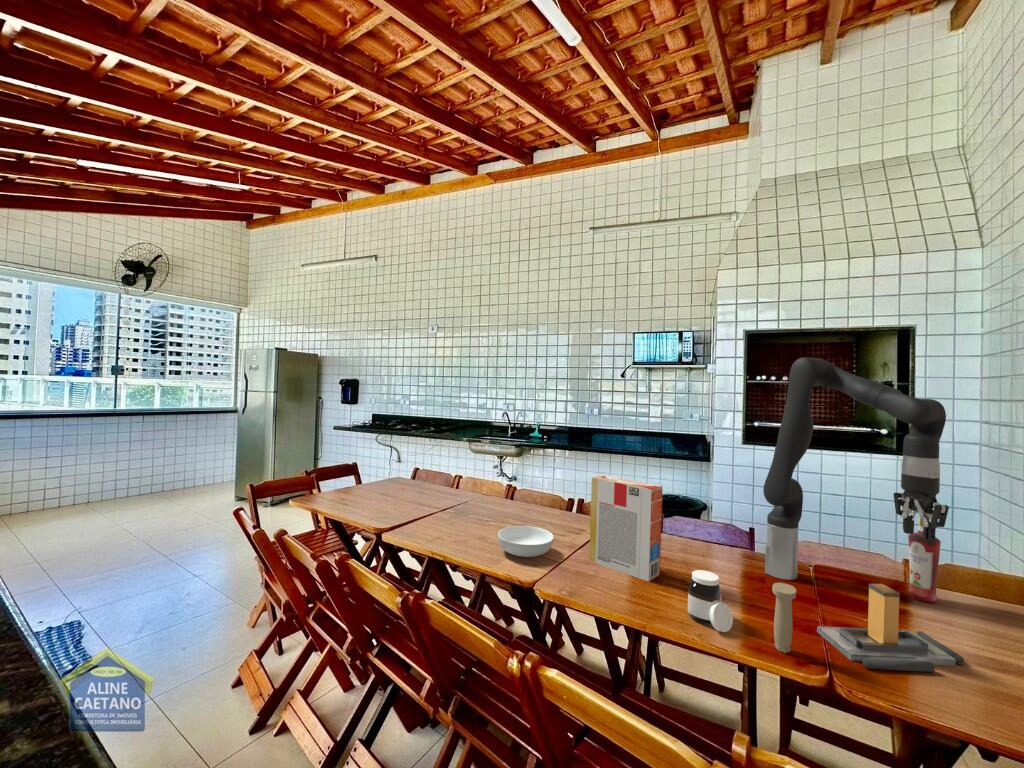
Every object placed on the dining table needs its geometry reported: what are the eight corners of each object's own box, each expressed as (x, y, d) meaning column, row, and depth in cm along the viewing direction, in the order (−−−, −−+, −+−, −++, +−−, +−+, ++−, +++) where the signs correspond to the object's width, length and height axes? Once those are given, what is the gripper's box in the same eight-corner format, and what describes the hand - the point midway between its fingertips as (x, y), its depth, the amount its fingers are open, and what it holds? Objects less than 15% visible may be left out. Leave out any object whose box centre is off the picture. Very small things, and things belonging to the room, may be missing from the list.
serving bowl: (532, 569, 149) (533, 549, 149) (485, 553, 162) (486, 534, 162) (563, 551, 166) (564, 533, 166) (519, 538, 179) (519, 521, 179)
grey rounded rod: (926, 668, 101) (926, 659, 101) (934, 674, 99) (935, 665, 99) (860, 665, 102) (860, 656, 102) (867, 670, 100) (867, 661, 100)
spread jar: (695, 605, 127) (696, 565, 127) (738, 620, 120) (739, 577, 120) (681, 622, 118) (682, 579, 118) (727, 638, 111) (728, 592, 111)
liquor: (901, 595, 138) (903, 506, 138) (915, 592, 141) (917, 504, 141) (930, 606, 131) (932, 513, 132) (944, 602, 134) (946, 511, 134)
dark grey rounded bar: (915, 638, 113) (916, 631, 113) (923, 639, 113) (924, 631, 113) (957, 666, 102) (958, 657, 102) (966, 666, 102) (967, 657, 102)
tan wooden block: (882, 635, 111) (883, 584, 111) (898, 646, 106) (899, 593, 106) (867, 634, 111) (868, 583, 111) (882, 646, 107) (884, 592, 107)
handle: (795, 647, 108) (797, 586, 108) (792, 660, 103) (794, 596, 103) (772, 640, 111) (774, 580, 111) (769, 651, 106) (770, 589, 106)
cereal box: (659, 574, 148) (662, 485, 148) (648, 581, 142) (651, 489, 142) (601, 554, 164) (603, 474, 164) (589, 560, 158) (591, 477, 158)
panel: (910, 636, 114) (910, 624, 115) (955, 665, 102) (956, 652, 103) (817, 632, 115) (817, 620, 115) (850, 660, 103) (851, 647, 103)
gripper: (883, 468, 124) (881, 528, 124) (930, 478, 109) (928, 546, 109) (910, 469, 124) (909, 529, 124) (961, 479, 109) (959, 547, 109)
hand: (918, 536), depth 116 cm, fingers open, 5 cm apart
